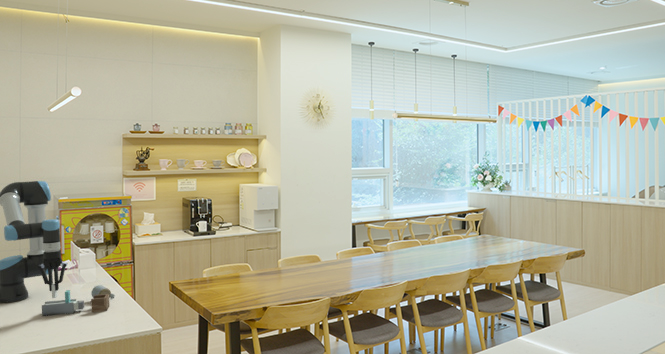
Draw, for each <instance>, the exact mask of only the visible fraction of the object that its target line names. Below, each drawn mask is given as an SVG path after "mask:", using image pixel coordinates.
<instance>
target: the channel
mask: <svg viewBox="0 0 665 354" xmlns="http://www.w3.org/2000/svg"><path fill="white" fill-rule="evenodd" d="M70 299H71V302H70V303H61V302H65V299H60V300H51V301H45V302H44V304H48V305H44V304H41V317H51V316H62V315H70V314H71V315H72V314H74V313H75V312H76V311H77V310H74V303H73V302H72V301H77V298H74V299H72V298H70ZM50 303H59V304H50Z"/></svg>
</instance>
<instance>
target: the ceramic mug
mask: <svg viewBox="0 0 665 354" xmlns="http://www.w3.org/2000/svg"><path fill="white" fill-rule="evenodd" d="M90 294H91V297H92V299H94V295H102V294H109V299H110V298H113V299H114V298H115V296H116V294H114V293H112V292H111V290H110V288H108V287H106V286H104V285H101V284H99V285H95V286H94V287H93V288H92V290H91V293H90Z"/></svg>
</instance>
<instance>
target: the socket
mask: <svg viewBox="0 0 665 354" xmlns="http://www.w3.org/2000/svg"><path fill="white" fill-rule="evenodd" d="M90 302H91V305H90V306H91V313H99V312H107V311H108V310H109V307H110V298H109V294H102V295H94V298H91V301H90Z"/></svg>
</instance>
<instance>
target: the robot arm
mask: <svg viewBox="0 0 665 354" xmlns="http://www.w3.org/2000/svg"><path fill="white" fill-rule="evenodd" d="M51 200H52V194H51V190H50V187H49V184H48V183H47V181H44V180H33V181H14V182H12V183H9V184H7V185H6V186H5V187H3V188H2V189H1V191H0V206H2V211H3V213H4V217H5V223H6V225H5V226H4V227H3V235H4V240H5V241H7V242H8V241H19V240H26V239H27V240H28V239H29V240H28V241H29V242H28V243H29V250H28V252H27V253H26V257H24V256H23V255H21V254H18V255H12V256H7V257H5V258H2V259H0V304H9V303H15V302H20V301H23V300H26V299H27V298H29V291H28V288H27V286H26V284H25V279H29V278H35V277H42V279H43V282H44V284H45V285H48V287H49V289H48V290H49V291H50V292H51V299H56V298H57V297H58V293H57V291H59V287H60V286H59V284H61V283H62V282H63V280H64V276H65V271H66V267H67V266H68V262H64V261H63V259H62V252H61V251H62V250H61V237H60V236H61V230H60V229H61V225H60V220H59V219H55V218H51V219H50V218H49V219H46V207H47V206H48V205H49V203H48V202H51ZM20 204H23V207H25V208H26V209H27V222H28V223H26V222H25V219H24V215H23V213H22V208H21V205H20ZM60 266H61V270H60V273H59V267H60ZM53 278H54V279H53Z"/></svg>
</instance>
